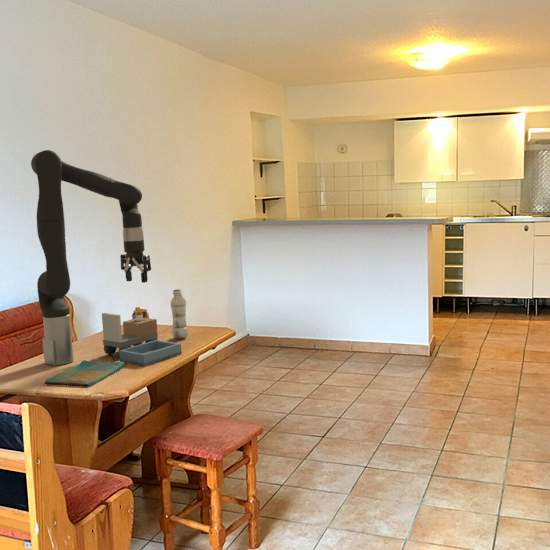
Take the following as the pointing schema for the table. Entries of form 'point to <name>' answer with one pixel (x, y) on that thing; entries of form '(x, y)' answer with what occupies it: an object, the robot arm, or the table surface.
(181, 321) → the plastic bottle
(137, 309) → the stop pin
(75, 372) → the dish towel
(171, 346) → the tray
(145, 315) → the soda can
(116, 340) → the trolley
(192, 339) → the table surface
